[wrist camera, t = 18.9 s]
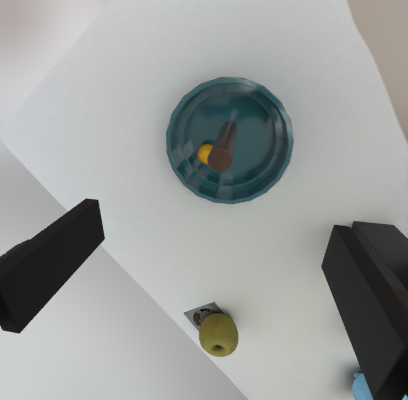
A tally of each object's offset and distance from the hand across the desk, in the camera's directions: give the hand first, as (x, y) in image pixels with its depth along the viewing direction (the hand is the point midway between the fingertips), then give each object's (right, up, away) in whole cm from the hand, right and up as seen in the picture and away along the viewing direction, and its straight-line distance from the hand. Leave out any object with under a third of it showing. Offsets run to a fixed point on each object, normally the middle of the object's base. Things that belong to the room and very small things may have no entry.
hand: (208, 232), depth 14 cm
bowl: (+4, +11, +23) cm, 26 cm away
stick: (+4, +12, +22) cm, 25 cm away
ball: (0, +9, +23) cm, 24 cm away
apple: (+3, -24, +41) cm, 47 cm away
